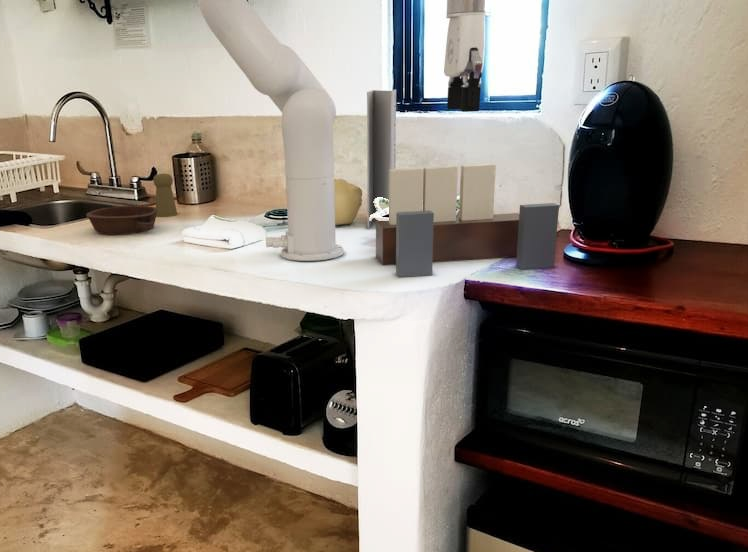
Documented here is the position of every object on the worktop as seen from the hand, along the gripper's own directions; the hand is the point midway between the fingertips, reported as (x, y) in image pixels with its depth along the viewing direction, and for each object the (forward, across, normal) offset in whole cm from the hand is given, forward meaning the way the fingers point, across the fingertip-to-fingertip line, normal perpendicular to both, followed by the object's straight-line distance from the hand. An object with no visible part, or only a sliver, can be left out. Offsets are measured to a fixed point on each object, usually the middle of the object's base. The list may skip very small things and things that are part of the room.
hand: (462, 110), depth 142 cm
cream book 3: (+20, +3, +3) cm, 20 cm away
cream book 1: (+20, +3, -11) cm, 23 cm away
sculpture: (+27, -38, -19) cm, 50 cm away
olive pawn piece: (+28, -67, -63) cm, 96 cm away
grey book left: (+27, +15, -11) cm, 33 cm away
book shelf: (+27, +3, -2) cm, 27 cm away
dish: (+28, -46, -71) cm, 89 cm away
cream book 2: (+20, +3, -4) cm, 20 cm away
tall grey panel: (+27, -36, -8) cm, 46 cm away
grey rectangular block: (+26, +15, +11) cm, 32 cm away
